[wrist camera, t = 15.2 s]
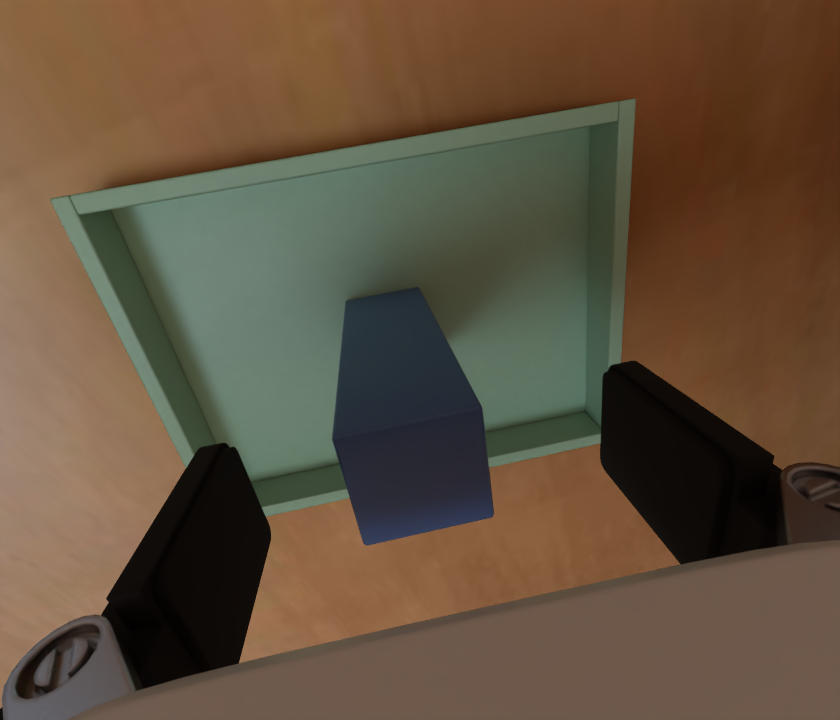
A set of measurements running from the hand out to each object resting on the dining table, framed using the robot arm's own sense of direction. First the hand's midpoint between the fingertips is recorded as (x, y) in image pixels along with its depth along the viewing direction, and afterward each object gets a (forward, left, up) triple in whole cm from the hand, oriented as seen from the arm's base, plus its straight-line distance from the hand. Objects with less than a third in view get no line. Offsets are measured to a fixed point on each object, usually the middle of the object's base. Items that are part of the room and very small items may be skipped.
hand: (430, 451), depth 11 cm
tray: (0, 0, -9) cm, 9 cm away
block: (0, 0, -9) cm, 9 cm away
